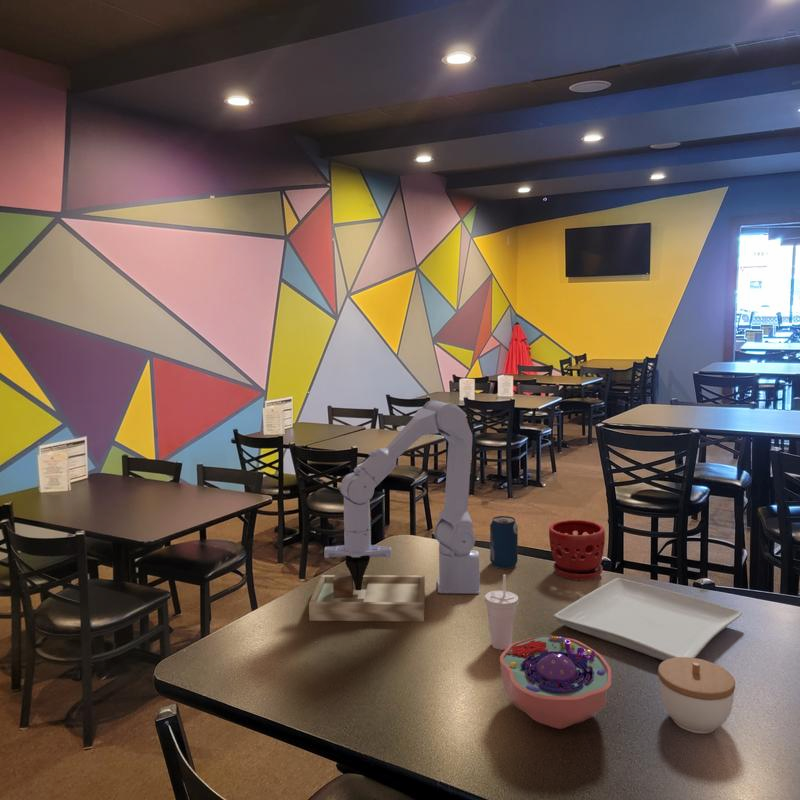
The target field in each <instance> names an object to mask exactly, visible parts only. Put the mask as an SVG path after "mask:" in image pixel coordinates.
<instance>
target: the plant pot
mask: <svg viewBox="0 0 800 800" xmlns="http://www.w3.org/2000/svg"><path fill="white" fill-rule="evenodd" d="M574 532H577V533H576V534H574ZM605 532H606V531H605V528H604V526H603V525H601V524H599V523H598V522H595V521H589V520H584V519H583V520H582V519H568V520H559V521H556V522H553V523H552V524H550V525H549V527H548V538H549V548H550V551H551V556H552V558H553V560H554V563H553V569H554V571H555V572H556V573H557V574H558V575H559V576H561V577H563V578H566V579H568V580H569V579H570V580H574V581H575V580H577V581H585V580H586V581H587V580H591V579H595V578H598V577H599V576H600V575H601V574H602V573H603V570H604V569H603V568H604V567H603V566H602V564H601V561H602V559H603V557H604V548H605V541H606V537H605V536H606V533H605ZM584 533H587V534H584Z"/></svg>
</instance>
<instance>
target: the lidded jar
mask: <svg viewBox="0 0 800 800" xmlns="http://www.w3.org/2000/svg"><path fill="white" fill-rule="evenodd" d="M657 676H658V692H659V697H660V701H661V703H662V706H663V708H664V710H665V712H666V713H667V714H668V715H669V716H670V717H671V719H672V720H673V722H674V723H675V724H676V725H677V726H678V727H679V728H681V729H682V730H683V731H684V730H685V731H687V732H690V733H693V734H694V733H695V734H699V735H700V734H701V735H703V734H705V735H707V734H710V733H713V732H714V731H716V729H717V728H719V727H721V726H722V725H723V724H724V723H726V721H727V720H728V718H729V717H730V714H731V711H732V709H733V703H734V698H735V689H736V681H735V678H734V676H733V675H732V674H731V673H730V671H728V670H726V669H725V667H723V666H720V665H718V664H716V663H714V662H710V661H708V660H705V659H701V658H696V657H695V658H689V657H676V658H670V659H667V660H665V661H663V660H662V661H661V662H660V664H659V665H658V669H657Z"/></svg>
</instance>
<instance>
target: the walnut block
mask: <svg viewBox="0 0 800 800" xmlns="http://www.w3.org/2000/svg"><path fill="white" fill-rule="evenodd" d="M334 575H335V576H334V579H333V594H334V598H352V596H353V592H354V581H353V578H352V575H351V573H350V572H343V573H341V572H337V573H336V572H335V573H334Z"/></svg>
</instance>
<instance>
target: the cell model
mask: <svg viewBox="0 0 800 800" xmlns="http://www.w3.org/2000/svg"><path fill="white" fill-rule="evenodd" d="M499 662H500V663H499V664H500V672H501V680H502V685H503V689H504V693H505V695H506V697H507V698H508V700H509V701H510V702H511V704H513V705H514V706H515V707H516V708H517V709H518V710H519V711H521V712H523V713H525V714H526V715H527V716H528V717H529V718H531V719H532V720H534V721H535V722H537V723H539V724H542V725H545V726H548V727H551V728H554V729H565V728H567V727H570V726H573V725H576V724H579V723H582V722H585V721H587V720H589V719H591V718H592V717H595V716H596V715H597V714H598V713H600V711H602V709H603V708H604V707H605V706H606V703H607V699H608V691H609V688H610V686H611V684H612V669H611V667H610V665H609V664H608V661H606V659H605V658H604V657H603V655H602V654H600V653H599V652H597V651H596V650H595V649H593V648H591V647H590V646H588V645H587V644H586V643H583V642H581V641H579V640H577V639H575V638H568V637H563V636H560V635H559V636H557V635H537V636H533V637H529V638H526V639H523V640H520V641H515V642H513V643H512V644H510V645H509V646H508V647H507V649H506V650H503V652H502V653H501V655H500V657H499Z"/></svg>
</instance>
